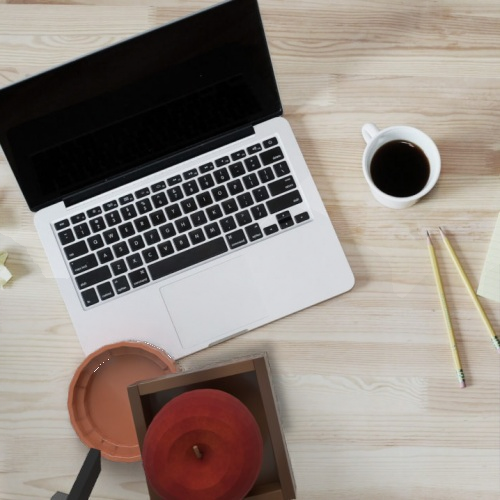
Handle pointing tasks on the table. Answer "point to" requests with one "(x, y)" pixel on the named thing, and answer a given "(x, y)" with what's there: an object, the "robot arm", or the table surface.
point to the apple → (203, 448)
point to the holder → (241, 387)
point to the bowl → (113, 396)
